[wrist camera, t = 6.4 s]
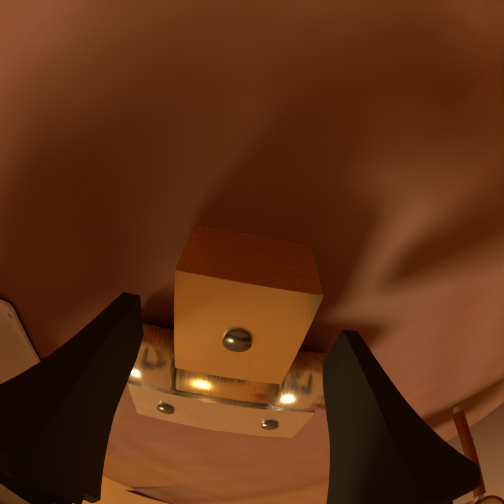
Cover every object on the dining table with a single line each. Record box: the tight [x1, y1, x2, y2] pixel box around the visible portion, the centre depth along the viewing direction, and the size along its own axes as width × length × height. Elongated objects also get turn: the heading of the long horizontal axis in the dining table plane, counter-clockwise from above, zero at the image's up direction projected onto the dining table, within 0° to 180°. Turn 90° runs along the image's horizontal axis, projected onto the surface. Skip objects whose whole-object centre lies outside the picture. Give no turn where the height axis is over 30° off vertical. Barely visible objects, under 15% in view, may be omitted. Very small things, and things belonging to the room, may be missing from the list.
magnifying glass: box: [453, 405, 504, 504], centre depth 11 cm, size 9×2×20 cm, turn 76°
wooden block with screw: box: [174, 224, 324, 404], centre depth 11 cm, size 8×4×3 cm, turn 170°
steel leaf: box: [128, 323, 328, 437], centre depth 14 cm, size 7×10×3 cm
